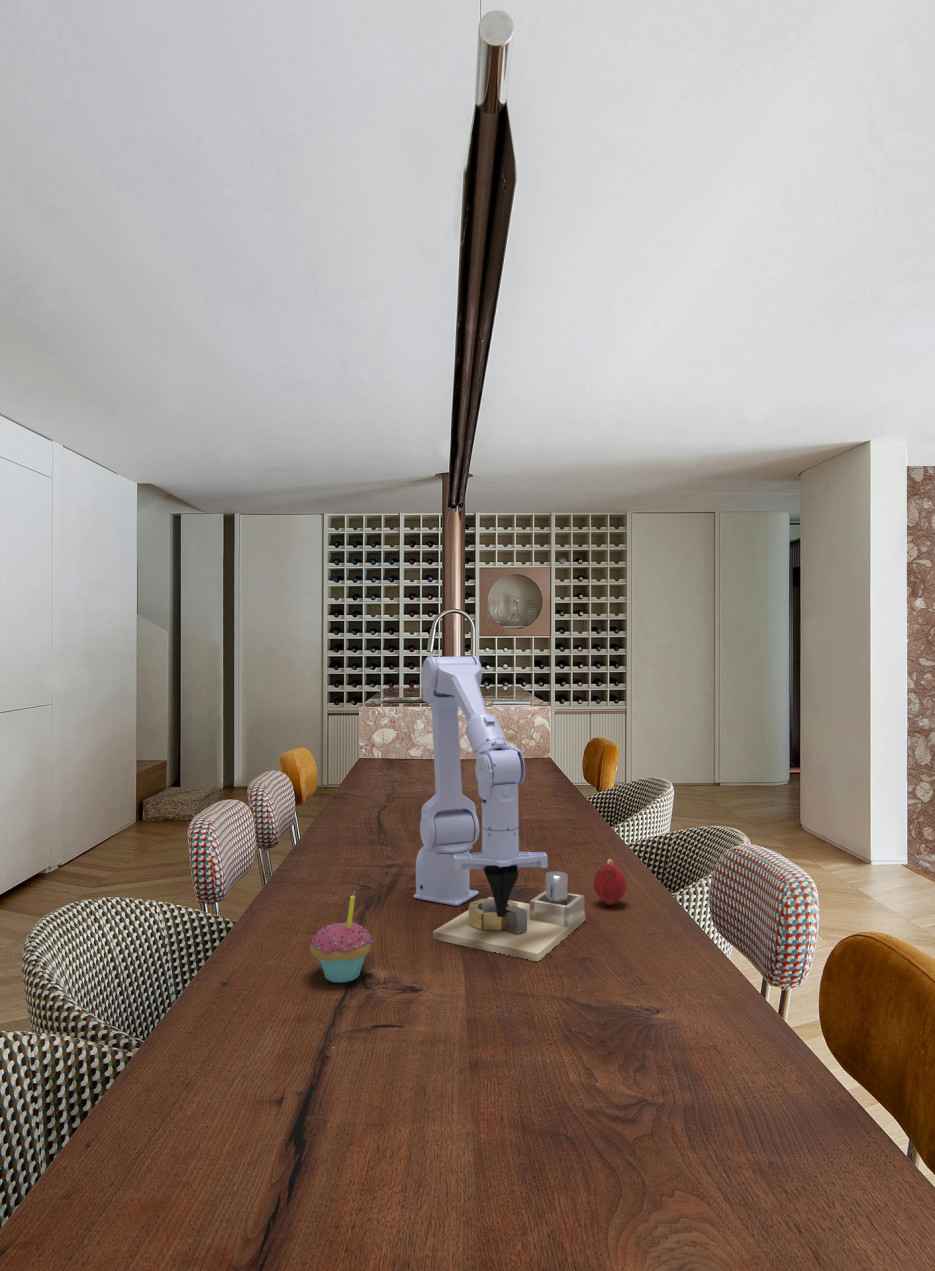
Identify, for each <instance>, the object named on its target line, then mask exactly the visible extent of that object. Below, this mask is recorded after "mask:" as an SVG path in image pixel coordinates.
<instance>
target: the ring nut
mask: <svg viewBox="0 0 935 1271" xmlns="http://www.w3.org/2000/svg"><path fill="white" fill-rule="evenodd" d="M489 900H494V898H489V897H485V898H480V899H477V900H474V901H472V902H469V906H468V910H469V924H470V925H471V926H474V927H476V928H478V929H481V930H482V929H484V930H507V931H510V932H513V933H515V934H519V933H522V932H525V931H527V910H525V909H522V908H520V907H518V904H517V903H515V902H512V901H513V900H511V901H509V900H510V899H508V903H507V907H506V913H505V917H498V916H497V914H496V912H486V911H483V910H482V903H483V902H485V901H489Z"/></svg>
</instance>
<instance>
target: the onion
mask: <svg viewBox="0 0 935 1271" xmlns="http://www.w3.org/2000/svg"><path fill="white" fill-rule="evenodd" d="M592 883H593V889H594V893H595V894H596V895H597V896H598V898H599V899H600V901H602V902H603V903H605V904H606V905H608V906H612V905H615V903H617V902H618V901H620V899H622V898H623V897H624V895H625V893H626V892H627V879H626V876H625V874H624V872H623V871H622V870H621V869H620V868H619V867H618V866H617V865H615V864H614V860H613V859H610V858H609V859H607V860H606V863H605V864H604V865H602V866H601V867H600V868H598V870H597V871H596V873H595V874H594V876H593V882H592Z"/></svg>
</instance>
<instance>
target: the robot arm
mask: <svg viewBox="0 0 935 1271" xmlns="http://www.w3.org/2000/svg"><path fill="white" fill-rule="evenodd" d="M420 674H421V676H420V677H421V692H422V699H423V702H425V703H427V704H429V705H430V708H431V718H432V719H431V720H432V721H431V724H432V725H431V726H432V743H433V765H434V786H435V787H434V788H435V794H433V796H432V797H431V798H429V800H427V801H426V802H425V803H424V804H423V805H422V806H421V811H420V813H421V817H420V823H419V833H420V838H421V842H422V844H423V846H422V847H420V849H419V851H418V853H417V856H416V860H415V894H414V895H413V898H415V899H418V900H423V901H429V902H434V903H439V904H445V905H450V906H455V907H457V906H461V905H462V904H464V903H465V902H467V901H469V900H470V899H472V898H474V897H475V896H477V895H478V894H479V891H478V890H474V889H470V870H483V872H484V874H485V877H486V880H487V881H488V883H489V887H490V890H491V893H492V895H493V896H492V897H494V901H495V906H496V914H497V916H498V917H505V913H506V907H507V903H508V900H510V896H511V893H512V891H513V887H514V886H515V884H516V881H518V878H519V870H518V868H541V869H548V868H549V867H548V855H547V853H546V852H544V851H543V852H541V851H539V852H537V851H536V852H535V851H520V849H519V848H520V847H519V844H520V842H519V838H520V837H519V835H520V834H519V829H520V828H519V827H520V826H519V786H520V785H522V783H523V782H524V780H525V776H526V765H525V759H524V756H523V753H522V751H521V750H520V748H517V747H515V746H514V744H512V743H509V742H508V739H507V738H506V735H505V733H504V731H503V729H502V727H501V725H500V721H499V720H498V718H497V717H496V716H495V715H493V714H491V713H488V710H487V708H486V707H487V706H486V704H485V700H484V697H483V694H482V691H481V685H482V684H481V682H482V678H483V677H482V676H483V670H482V664H481V661H480V660H479V659H478V657H477V656H476V655H469V656H433V655H429V656H427V657H426V658H425V660H424V661H423V664H422V668H421V673H420ZM459 708H460V710H461V712H462V714H463V715H464V717H465V719H466V721H467V723H466V726H465V728H464V729H465V730H464V732H465V734H466V737H467V740H468V742H469V745H470V747H471V749H472V750H471V751H473V752H472V753H473V755H474V756H475V759H476V761H475V766H474V772H475V777H476V778H475V779H476V781H477V787H478V796H479V798H481V852H472V853H470V850H473V848H474V847H473V846H474V844H475V843H477V841H478V839H479V836H480V823H479V822H480V821H479V818H478V816H477V809H476V808H477V807H476V804H475V802H474V801H473V800H471V799H470V798H469V797H467V796H466V795H465V794H463V786H462V785H463V784H462V767H461V766H462V765H461V749H460V748H461V747H460V745H461V744H460V743H461V742H460V728H459V726H460V725H459V710H458V709H459ZM453 810H454V811H453Z"/></svg>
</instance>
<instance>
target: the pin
mask: <svg viewBox="0 0 935 1271" xmlns="http://www.w3.org/2000/svg"><path fill="white" fill-rule="evenodd" d="M568 876H569V875H568V873H566V872H564V871H558V870H557V871H556V870H555V871H548V872H546V873H545V890H546V902H548V903H554V904H560V905H565V906H566V905H568V893H569V890H568V889H569V887H568V886H569V885H568V884H569V883H568Z"/></svg>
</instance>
